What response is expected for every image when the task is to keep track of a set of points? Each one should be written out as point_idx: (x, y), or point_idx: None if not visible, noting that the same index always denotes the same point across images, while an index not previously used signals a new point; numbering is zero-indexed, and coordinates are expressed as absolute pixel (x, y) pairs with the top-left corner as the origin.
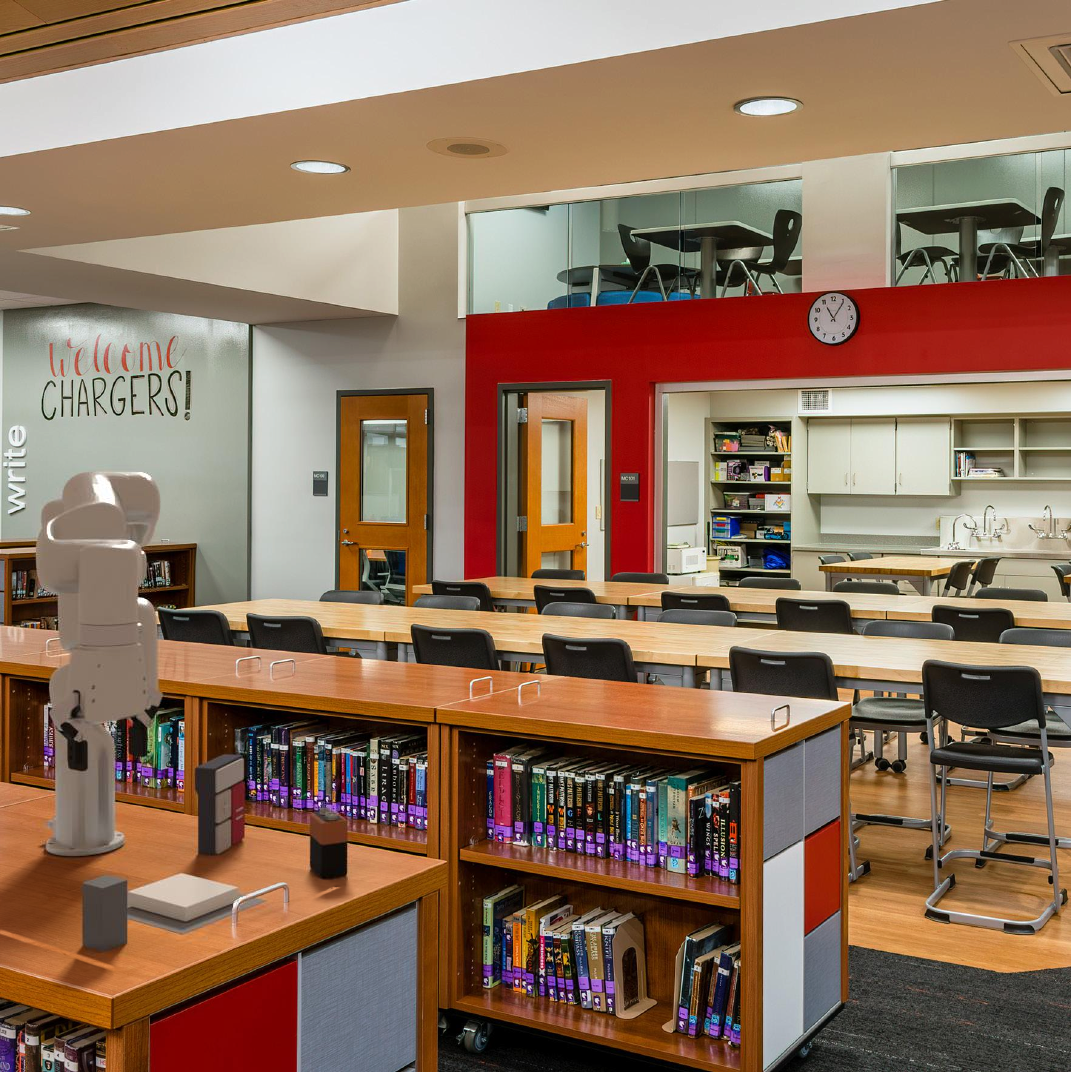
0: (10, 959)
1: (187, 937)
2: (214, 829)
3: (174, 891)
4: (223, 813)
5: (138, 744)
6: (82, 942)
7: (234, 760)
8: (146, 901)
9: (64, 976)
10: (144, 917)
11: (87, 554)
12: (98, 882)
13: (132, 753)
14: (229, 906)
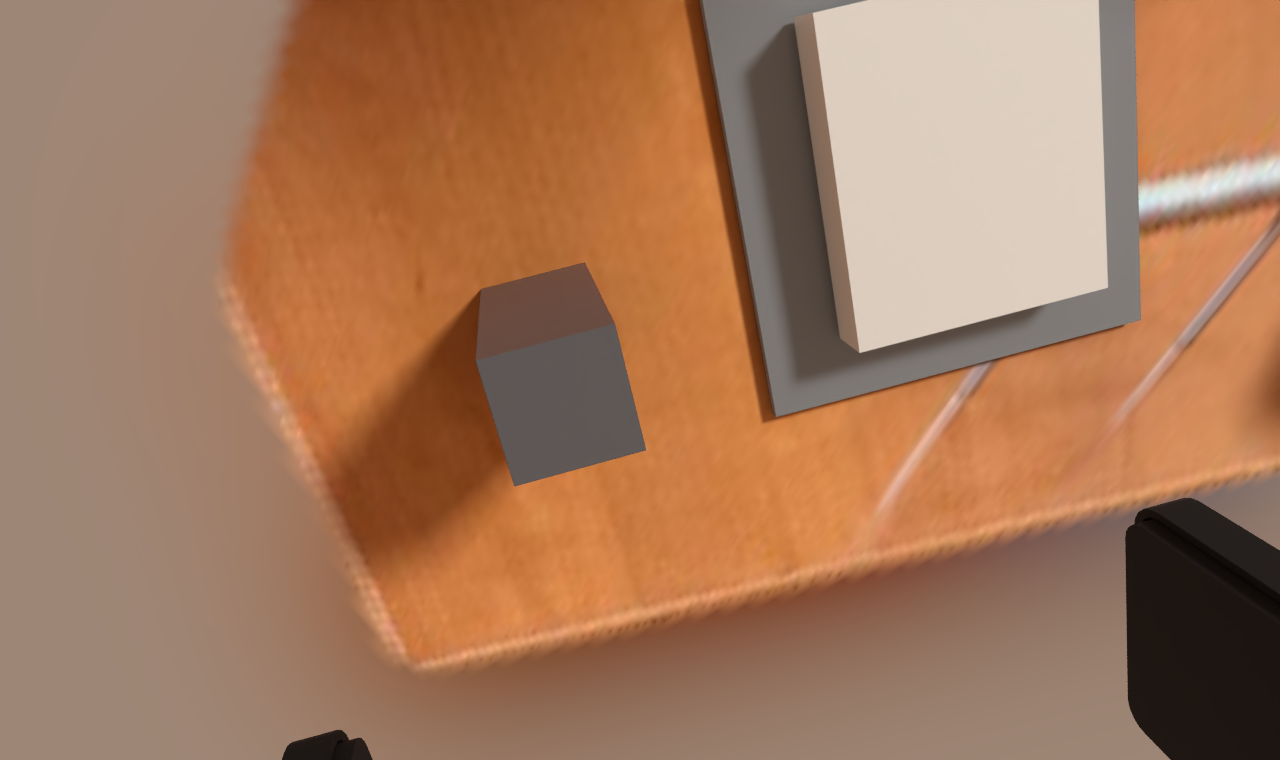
0: (240, 200)
1: (785, 416)
2: None
3: (935, 158)
4: None
5: (1226, 754)
6: (480, 294)
7: None
8: (821, 135)
9: (346, 463)
10: (773, 178)
11: None
12: (534, 402)
13: (1135, 586)
14: None
